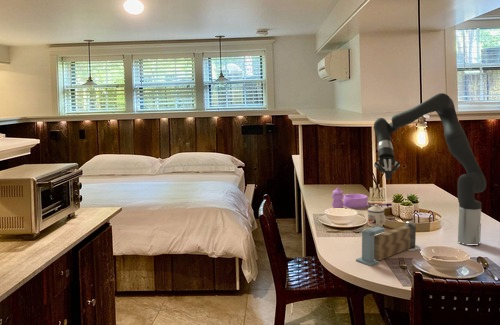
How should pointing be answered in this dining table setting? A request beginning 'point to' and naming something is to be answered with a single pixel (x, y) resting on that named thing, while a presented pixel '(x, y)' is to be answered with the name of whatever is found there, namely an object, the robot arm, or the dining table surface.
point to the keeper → (369, 245)
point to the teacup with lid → (376, 216)
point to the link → (394, 241)
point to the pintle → (415, 245)
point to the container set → (349, 200)
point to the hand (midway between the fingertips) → (388, 178)
